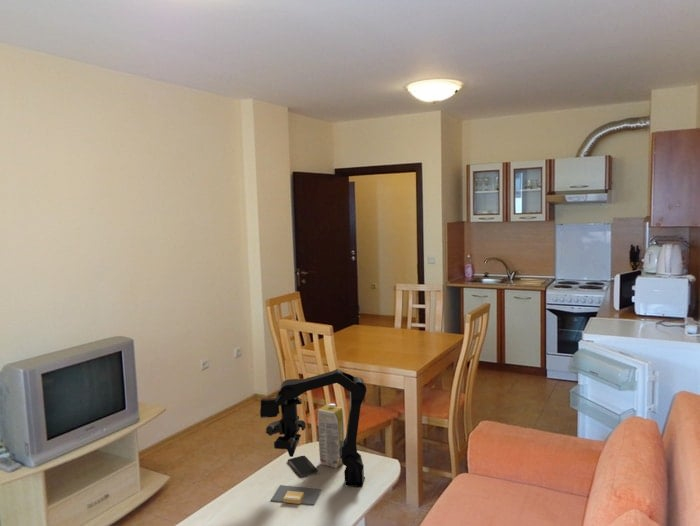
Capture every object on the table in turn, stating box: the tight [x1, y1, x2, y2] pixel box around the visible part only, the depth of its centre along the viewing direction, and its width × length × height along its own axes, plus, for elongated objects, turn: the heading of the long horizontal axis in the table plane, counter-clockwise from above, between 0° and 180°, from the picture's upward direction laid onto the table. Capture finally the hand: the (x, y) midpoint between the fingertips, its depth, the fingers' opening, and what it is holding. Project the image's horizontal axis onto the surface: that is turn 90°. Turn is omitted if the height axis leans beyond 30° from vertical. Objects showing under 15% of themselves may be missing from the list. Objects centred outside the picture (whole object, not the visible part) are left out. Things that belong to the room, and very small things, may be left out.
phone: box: [287, 455, 319, 478], centre depth 210 cm, size 8×1×15 cm
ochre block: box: [282, 491, 304, 505], centre depth 187 cm, size 6×2×5 cm
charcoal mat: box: [270, 484, 322, 506], centre depth 190 cm, size 16×10×1 cm, turn 78°
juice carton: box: [317, 403, 345, 469], centre depth 211 cm, size 9×8×24 cm
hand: (291, 456), depth 194 cm, fingers closed
